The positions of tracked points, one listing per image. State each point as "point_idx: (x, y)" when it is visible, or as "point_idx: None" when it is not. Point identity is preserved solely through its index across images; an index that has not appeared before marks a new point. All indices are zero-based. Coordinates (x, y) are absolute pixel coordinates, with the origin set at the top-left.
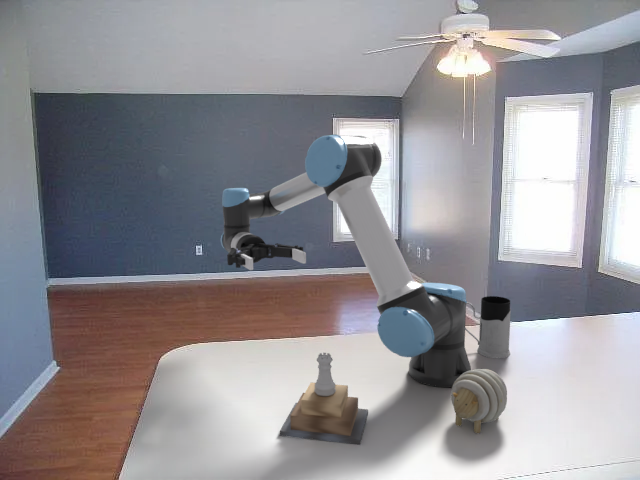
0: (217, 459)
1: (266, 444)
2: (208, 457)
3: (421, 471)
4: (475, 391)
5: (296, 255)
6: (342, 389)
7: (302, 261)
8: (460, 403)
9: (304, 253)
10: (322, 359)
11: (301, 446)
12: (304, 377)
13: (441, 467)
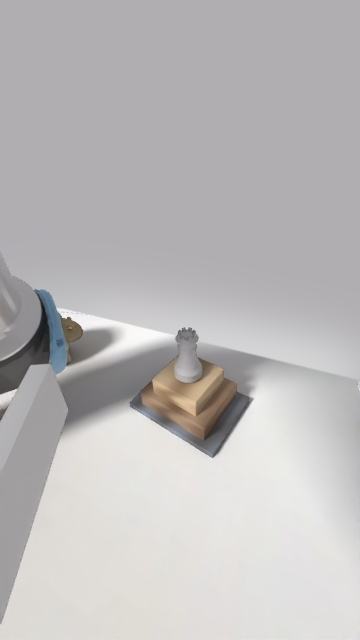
0: (320, 387)
1: (266, 393)
2: (331, 393)
3: (149, 331)
4: (60, 315)
5: (22, 486)
6: (164, 373)
7: (63, 410)
8: (77, 324)
9: (41, 369)
10: (192, 331)
11: (229, 379)
12: (152, 583)
13: (132, 330)
